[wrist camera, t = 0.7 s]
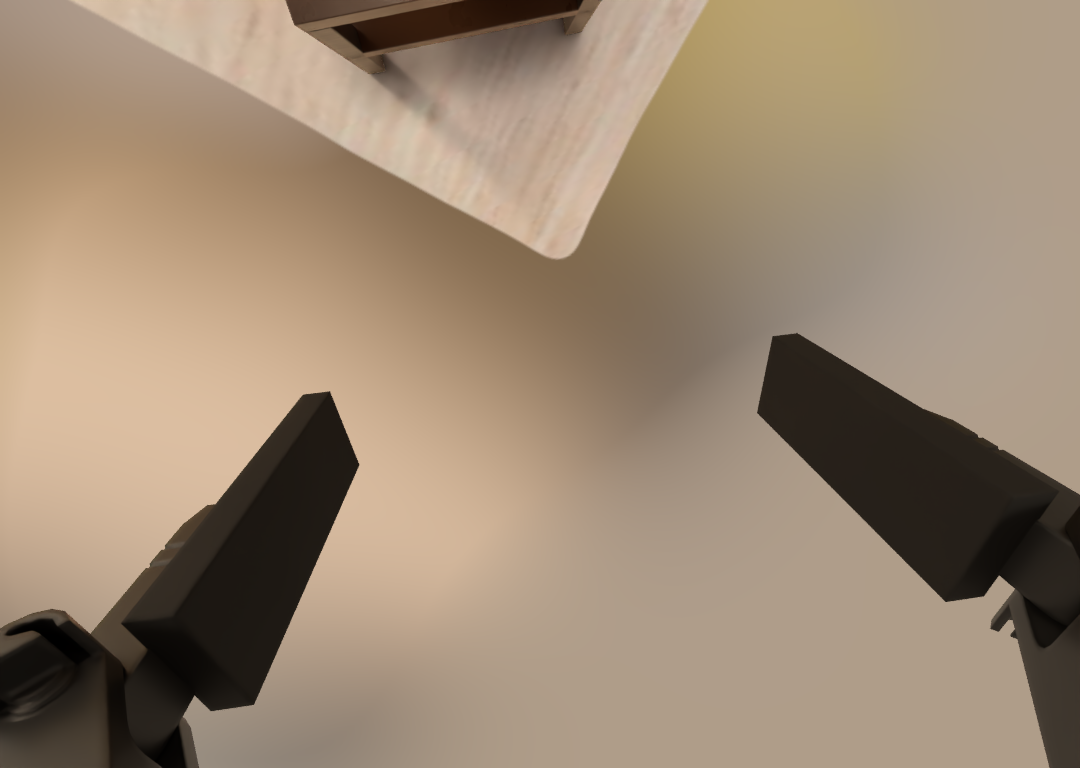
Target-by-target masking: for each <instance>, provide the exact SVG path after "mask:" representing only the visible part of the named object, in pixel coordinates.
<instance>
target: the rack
mask: <svg viewBox="0 0 1080 768" xmlns="http://www.w3.org/2000/svg"><path fill="white" fill-rule="evenodd" d="M601 1H602V0H286V3H287V6H288V9H289V12H290V14H291V17H292V20H293V23H294V25H295V26H297V27H298V28H300V29H301V30H303V31H304V32H306V33H308V34H309V35H311V36H312V37H314V38H315V39H317V40H318V41H320V42H321V43H323V44H324V45H326V46H327V47H329V48H330V49H332V50H334V51H335V52H337V53H338V54H340V55H341V56H343V57H344V58H345V59H347V60H348V61H350V62H352V63H353V64H355V65H356V66H358V67H359V68H361V69H362V70H364V71H365V72H367V73H368V74H374V73H379V72H384V71H385V66H384V63H383V59H382V56H381V54H385V53H390V52H395V51H400V50H405V49H410V48H415V47H420V46H425V45H430V44H435V43H440V42H445V41H450V40H455V39H459V38H464V37H469V36H474V35H479V34H484V33H489V32H494V31H499V30H504V29H509V28H514V27H519V26H524V25H529V24H534V23H539V22H544V21H549V20H554V19H559V18H563V23H564V32H565V35H568V34H573V33H578V32H582V30H583V29H584V27H585V26H586V24H587V22H588V21H589V19H590V18H591V16H592V15H593V13H594V12H595V10H596V9H597V7H598V5H599V4H600V2H601Z"/></svg>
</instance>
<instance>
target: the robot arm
mask: <svg viewBox="0 0 1080 768" xmlns="http://www.w3.org/2000/svg"><path fill="white" fill-rule="evenodd" d="M757 413H758V414H759V415H760V416H761V417H762V418H763V419H764V420H765V421H766V422H767V423H768V424H769V425H770V426H771V427H772V428H773V429H774V430H775V431H776V432H777V433H778V434H779V435H780V436H781V437H782V438H783V439H784V440H785V441H786V442H787V443H788V444H789V445H790V446H791V447H792V448H793V449H794V450H795V451H796V452H797V453H798V454H799V455H800V456H801V457H802V458H803V459H804V460H805V461H806V462H807V463H808V464H809V465H810V466H811V467H812V468H813V469H814V470H815V471H816V472H817V473H818V474H819V475H820V476H821V477H822V478H823V479H824V480H825V481H826V482H827V483H828V484H829V485H830V486H831V487H832V488H833V489H834V490H835V491H836V492H837V493H838V494H839V495H840V496H841V497H842V498H843V499H844V500H845V501H846V502H847V503H848V504H849V505H850V506H851V507H852V508H853V509H854V510H855V511H856V512H857V513H858V514H859V515H860V516H861V517H862V518H863V519H864V520H865V521H866V522H867V523H868V524H869V525H870V526H871V527H872V528H873V529H874V530H875V532H877V534H879V535H880V536H881V538H882V539H883V540H885V542H886V543H887V544H888V545H890V547H891V548H892V549H893V550H895V552H896V553H897V554H899V556H900V557H902V559H903V560H904V561H905V562H906V563H907V564H908V565H909V566H910V567H911V568H912V569H913V570H914V571H916V573H917V574H918V575H919V576H920V577H922V579H923V580H924V581H925V582H926V583H928V585H929V586H930V587H931V588H932V589H933V590H934V591H935V592H936V593H937V594H938V595H939V596H940V597H942V599H943V600H944V601H945V602H948V601H956V600H962V599H969V598H975V597H982V596H984V595H985V594H986V593H987V591H988V590H989V588H990V587H991V586H992V584H993V583H994V581H995V580H996V579H997V577H998V576H1001V577H1002V578H1003V579H1004V580H1005V581H1007V582H1008V583H1009V584H1010V585H1011V586H1013V587H1014V588H1015V590H1014V592H1013V593H1012V594H1011V595H1010V597H1009V598H1008V599H1007V601H1006V602H1005V603H1004V604H1003V606H1002V607H1001V608H1000V610H999V611H998V612H997V613H996V615H995V616H994V618H993V619H992V621H991V629H993V630H995V631H1000V629H1001V628H1002V627H1003V626H1004V624H1005V623H1006V622H1007V621H1008V620H1013V623H1014V627H1015V630H1014V631H1013V632H1012V633H1011V637H1013V638H1016V639H1018V643H1019V647H1020V651H1021V655H1022V659H1023V663H1024V667H1025V671H1026V675H1027V679H1028V683H1029V687H1030V691H1031V695H1032V699H1033V703H1034V707H1035V711H1036V715H1037V719H1038V723H1039V727H1040V731H1041V735H1042V739H1043V743H1044V747H1045V751H1046V755H1047V759H1048V763H1049V767H1050V768H1080V495H1079V494H1078V493H1076V492H1074V491H1072V490H1071V489H1069V488H1067V487H1066V486H1064V485H1062V484H1060V483H1059V482H1057V481H1056V480H1054V479H1052V478H1050V477H1049V476H1047V475H1045V474H1044V473H1042V472H1040V471H1038V470H1037V469H1035V468H1033V467H1031V466H1030V465H1028V464H1027V463H1025V462H1023V461H1021V460H1020V459H1018V458H1016V457H1015V456H1013V455H1011V454H1009V453H1008V452H1006V451H1004V450H999V449H998V446H996V445H994V444H993V443H991V442H989V441H988V440H986V439H984V438H978V435H977V434H975V433H974V432H972V431H970V430H969V429H967V428H965V427H964V426H962V425H960V424H959V423H957V422H955V421H954V420H951V419H948V418H946V417H943V416H941V415H938V414H935V413H933V412H930V411H927V410H925V409H922V408H921V407H919V406H917V405H916V404H914V403H912V402H911V401H909V400H907V399H906V398H904V397H902V396H900V395H899V394H897V393H895V392H894V391H892V390H891V389H889V388H887V387H885V386H884V385H882V384H881V383H879V382H877V381H876V380H874V379H872V378H871V377H869V376H867V375H866V374H864V373H862V372H861V371H859V370H858V369H856V368H854V367H853V366H851V365H849V364H847V363H846V362H844V361H842V360H841V359H839V358H838V357H836V356H834V355H833V354H831V353H829V352H828V351H826V350H824V349H823V348H821V347H819V346H818V345H816V344H814V343H812V342H811V341H809V340H808V339H806V338H804V337H803V336H801V335H799V334H798V333H796V334H788V335H780V336H773V337H772V342H771V347H770V352H769V357H768V362H767V367H766V372H765V377H764V382H763V387H762V392H761V397H760V401H759V406H758V412H757ZM358 467H359V463H358V460H357V458H356V455H355V453H354V450H353V448H352V445H351V443H350V440H349V438H348V435H347V433H346V430H345V428H344V426H343V423H342V420H341V418H340V416H339V413H338V411H337V408H336V406H335V403H334V401H333V398H332V396H331V393H330V391H329V392H322V393H313V394H305V395H303V396H302V397H301V398H300V399H299V400H298V402H297V403H296V404H295V406H294V407H293V408H292V409H291V410H290V412H289V413H288V414H287V416H286V417H285V418H284V419H283V421H282V422H281V423H280V424H279V425H278V427H277V428H276V429H275V430H274V432H273V433H272V434H271V436H270V437H269V438H268V439H267V440H266V442H265V443H264V444H263V446H262V447H261V448H260V449H259V451H258V452H257V453H256V454H255V456H254V457H253V458H252V459H251V461H250V462H249V463H248V465H247V466H246V467H245V468H244V469H243V471H242V472H241V473H240V475H239V476H238V477H237V478H236V479H235V481H234V482H233V483H232V484H231V486H230V487H229V488H228V490H227V491H226V492H225V493H224V494H223V496H222V497H221V498H220V499H219V501H218V502H217V503H216V504H215V505H207V506H206V507H205V508H203V509H202V510H201V511H199V512H198V513H197V514H196V515H194V516H193V517H192V518H190V519H189V520H188V521H187V522H185V523H184V524H183V525H182V526H181V527H180V528H179V530H178V531H177V532H176V533H175V534H174V535H173V537H172V538H171V539H170V540H169V541H168V543H167V544H166V545H165V549H164V550H161V551H160V552H159V553H158V555H157V556H156V557H155V558H154V559H153V560H152V562H151V563H150V567H149V568H146V569H145V570H144V571H143V572H142V573H141V575H140V576H139V577H138V578H137V579H136V581H135V582H134V583H133V584H132V586H130V588H129V589H128V590H127V592H125V594H124V595H123V596H122V597H121V599H120V600H119V601H118V602H117V603H116V605H115V606H114V607H113V608H112V609H111V610H110V611H109V613H108V614H107V615H106V616H105V617H104V619H103V620H102V621H101V622H100V623H99V624H98V626H97V627H96V628H95V629H94V630H93V632H92V633H91V634H90V633H88V632H87V631H86V630H85V629H84V628H83V627H82V626H81V625H80V624H78V623H77V622H76V621H75V620H74V619H73V618H72V617H70V616H69V615H68V614H67V613H66V612H65V611H61V610H54V609H50V610H45V611H41V612H36V613H33V614H30V615H27V616H25V617H23V618H21V619H18V620H16V621H13V622H11V623H9V624H7V625H5V626H4V627H2V628H0V768H199V766H198V761H197V756H196V751H195V747H194V741H193V736H192V732H191V728H190V726H189V724H188V723H187V721H186V719H185V718H183V715H184V713H185V711H186V710H187V708H188V706H189V704H190V702H191V701H192V699H193V697H194V695H195V696H196V697H197V698H198V699H199V700H200V701H201V702H202V703H203V704H204V705H205V706H206V707H207V708H208V709H209V710H210V711H215V710H222V709H229V708H236V707H242V706H249V705H254V703H255V701H256V699H257V697H258V694H259V692H260V690H261V688H262V685H263V683H264V681H265V678H266V676H267V674H268V672H269V669H270V667H271V665H272V662H273V660H274V658H275V656H276V653H277V651H278V649H279V647H280V644H281V641H282V640H283V637H284V635H285V633H286V631H287V628H288V626H289V624H290V621H291V619H292V617H293V614H294V612H295V610H296V608H297V605H298V603H299V601H300V598H301V596H302V594H303V592H304V590H305V587H306V585H307V582H308V580H309V578H310V576H311V574H312V571H313V569H314V567H315V565H316V562H317V560H318V558H319V555H320V553H321V551H322V549H323V546H324V544H325V542H326V540H327V537H328V535H329V533H330V530H331V528H332V526H333V524H334V521H335V519H336V517H337V514H338V512H339V510H340V508H341V505H342V503H343V501H344V498H345V496H346V494H347V491H348V489H349V487H350V485H351V483H352V480H353V478H354V476H355V474H356V471H357V469H358Z"/></svg>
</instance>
